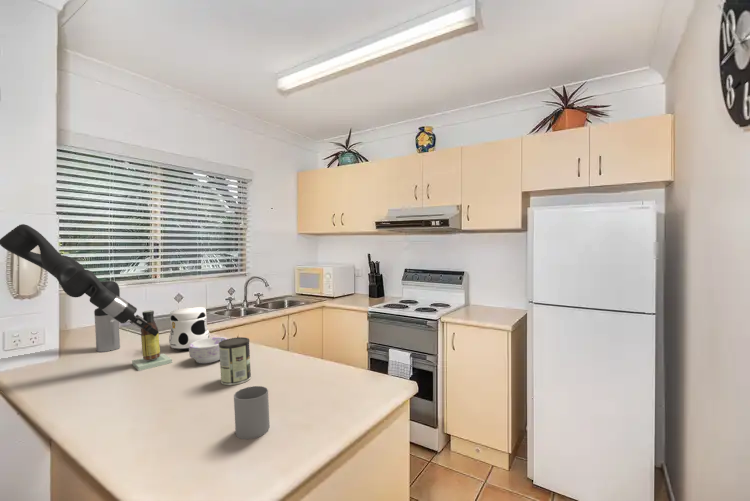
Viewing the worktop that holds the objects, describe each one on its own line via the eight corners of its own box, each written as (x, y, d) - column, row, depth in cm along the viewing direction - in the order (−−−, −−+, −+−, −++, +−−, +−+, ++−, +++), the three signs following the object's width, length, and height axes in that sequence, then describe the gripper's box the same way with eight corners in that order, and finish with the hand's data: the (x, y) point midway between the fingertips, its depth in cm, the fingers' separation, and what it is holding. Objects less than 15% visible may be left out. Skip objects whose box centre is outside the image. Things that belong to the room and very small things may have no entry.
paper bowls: (181, 364, 148) (180, 345, 148) (210, 353, 162) (209, 335, 162) (208, 368, 142) (207, 348, 142) (236, 356, 156) (235, 338, 156)
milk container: (162, 349, 171) (160, 311, 170) (198, 340, 185) (196, 305, 184) (181, 354, 161) (179, 315, 160) (217, 344, 175) (215, 308, 174)
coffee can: (236, 373, 136) (234, 336, 135) (257, 376, 131) (255, 338, 131) (213, 383, 126) (212, 343, 126) (235, 387, 122) (233, 346, 122)
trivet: (132, 364, 150) (131, 360, 150) (164, 356, 159) (163, 353, 159) (138, 370, 142) (138, 366, 142) (172, 362, 150) (171, 359, 150)
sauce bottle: (163, 355, 153) (161, 309, 152) (153, 360, 147) (151, 312, 146) (149, 355, 153) (147, 309, 153) (138, 360, 147) (136, 312, 147)
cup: (241, 423, 97) (239, 387, 97) (272, 421, 98) (270, 385, 98) (231, 440, 89) (229, 400, 89) (265, 438, 89) (263, 398, 89)
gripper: (108, 314, 146) (143, 337, 154) (115, 319, 136) (152, 343, 144) (123, 300, 149) (157, 323, 158) (131, 303, 139) (166, 327, 148)
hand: (154, 332), depth 151 cm, fingers closed on sauce bottle, 6 cm apart
